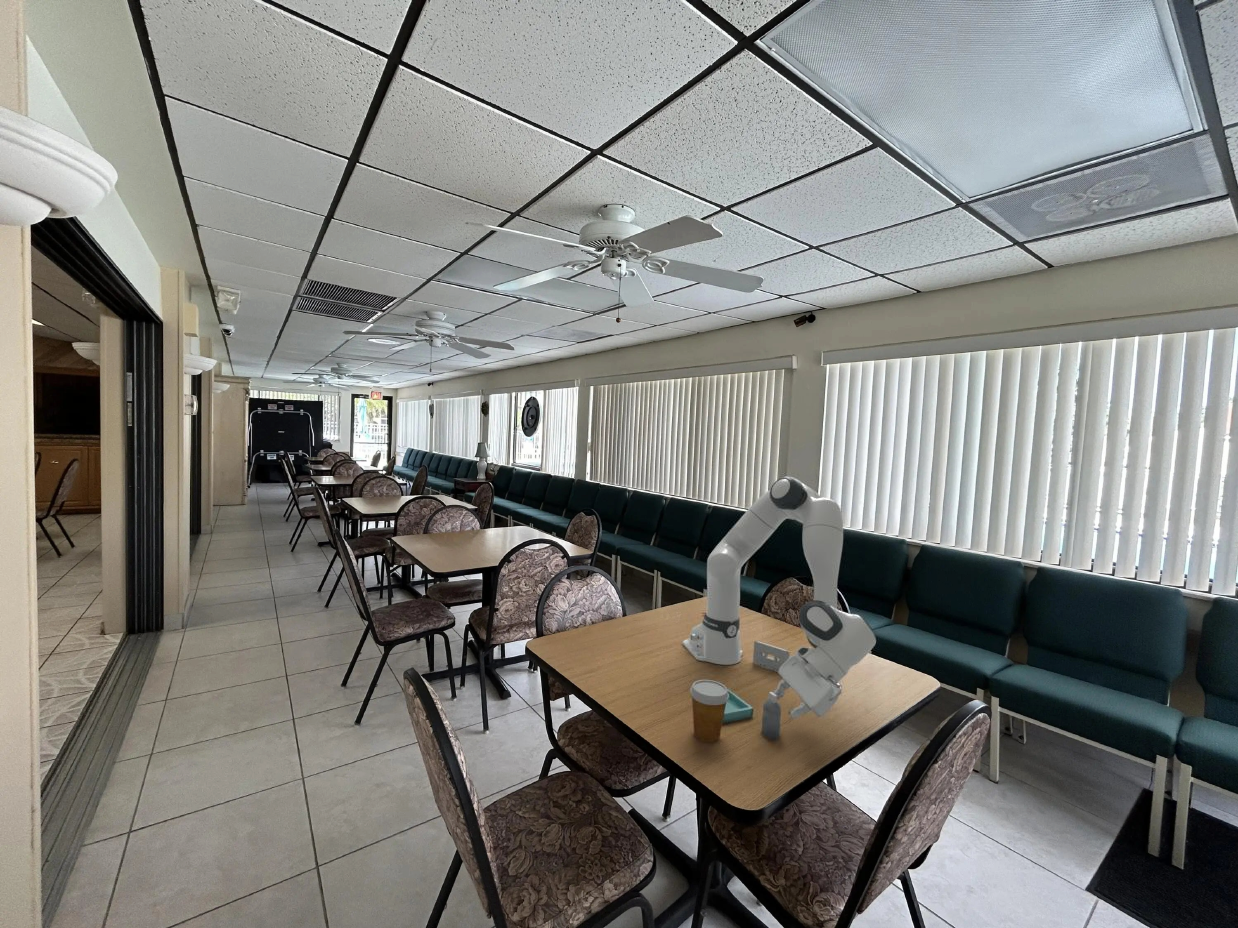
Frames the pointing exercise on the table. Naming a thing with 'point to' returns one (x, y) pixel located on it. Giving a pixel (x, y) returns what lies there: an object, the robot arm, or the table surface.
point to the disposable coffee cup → (708, 709)
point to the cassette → (768, 661)
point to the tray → (736, 709)
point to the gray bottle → (771, 717)
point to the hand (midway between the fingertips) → (783, 705)
